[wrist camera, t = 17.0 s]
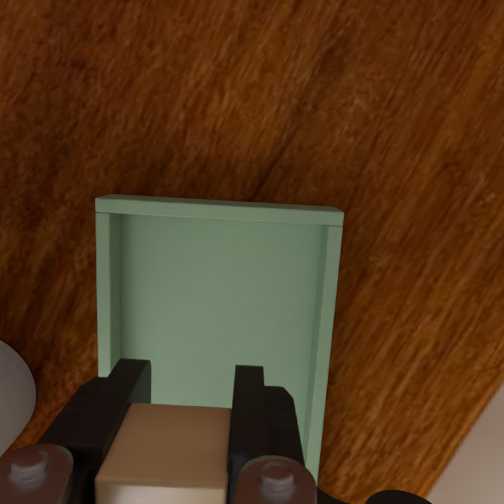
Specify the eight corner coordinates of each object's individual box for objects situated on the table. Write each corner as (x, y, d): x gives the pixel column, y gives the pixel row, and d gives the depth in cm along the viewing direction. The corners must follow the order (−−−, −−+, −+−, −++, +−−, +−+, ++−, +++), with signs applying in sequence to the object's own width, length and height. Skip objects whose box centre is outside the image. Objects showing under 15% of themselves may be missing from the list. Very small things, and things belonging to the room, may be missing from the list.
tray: (110, 193, 20) (94, 197, 18) (335, 206, 20) (344, 212, 18) (114, 532, 23) (101, 568, 21) (303, 541, 24) (308, 578, 21)
